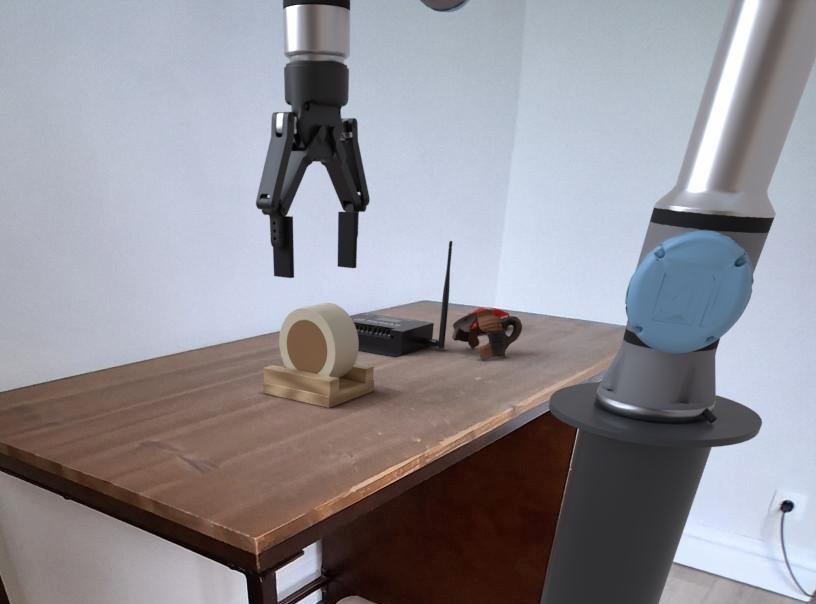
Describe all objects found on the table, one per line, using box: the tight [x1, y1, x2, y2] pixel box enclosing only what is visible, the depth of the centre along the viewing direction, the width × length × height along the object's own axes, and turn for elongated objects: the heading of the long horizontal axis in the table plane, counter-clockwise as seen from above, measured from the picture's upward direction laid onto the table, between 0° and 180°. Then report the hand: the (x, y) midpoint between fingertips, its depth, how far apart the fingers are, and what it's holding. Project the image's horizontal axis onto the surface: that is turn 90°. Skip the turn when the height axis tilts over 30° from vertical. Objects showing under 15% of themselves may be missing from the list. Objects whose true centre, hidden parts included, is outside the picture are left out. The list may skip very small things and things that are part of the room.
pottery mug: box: [452, 309, 523, 361], centre depth 118 cm, size 12×10×8 cm
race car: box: [467, 307, 510, 336], centre depth 135 cm, size 13×5×4 cm, turn 129°
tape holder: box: [262, 362, 375, 409], centre depth 97 cm, size 12×11×4 cm
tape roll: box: [278, 302, 359, 378], centre depth 94 cm, size 10×6×10 cm, turn 53°
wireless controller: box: [349, 240, 453, 358], centre depth 119 cm, size 20×14×17 cm
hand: (317, 272), depth 89 cm, fingers open, 13 cm apart
